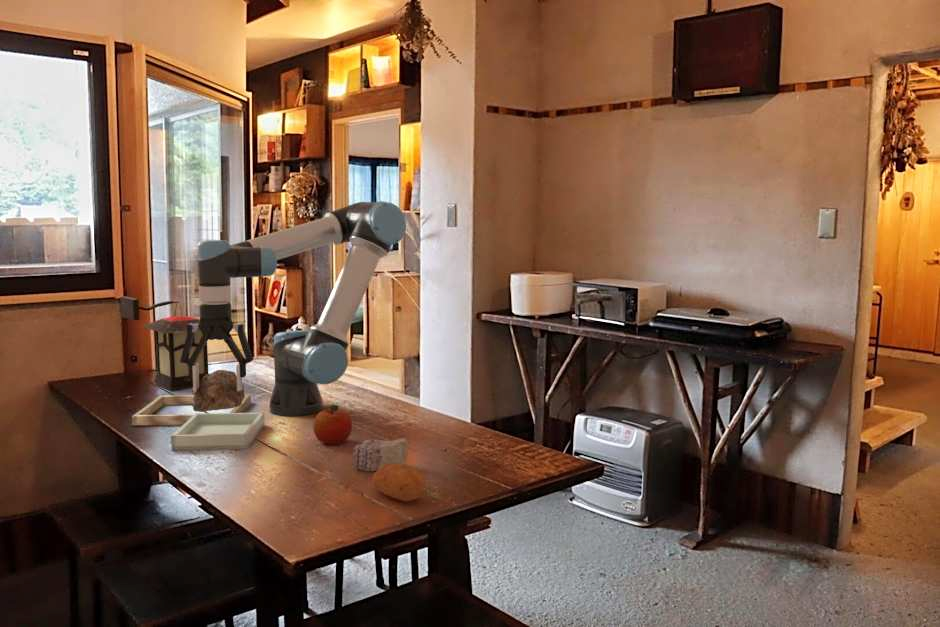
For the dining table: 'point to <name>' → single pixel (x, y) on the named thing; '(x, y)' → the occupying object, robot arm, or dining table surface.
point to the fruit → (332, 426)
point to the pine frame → (147, 419)
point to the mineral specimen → (379, 454)
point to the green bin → (218, 431)
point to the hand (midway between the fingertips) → (218, 390)
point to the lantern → (170, 345)
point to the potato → (399, 482)
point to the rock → (218, 392)
